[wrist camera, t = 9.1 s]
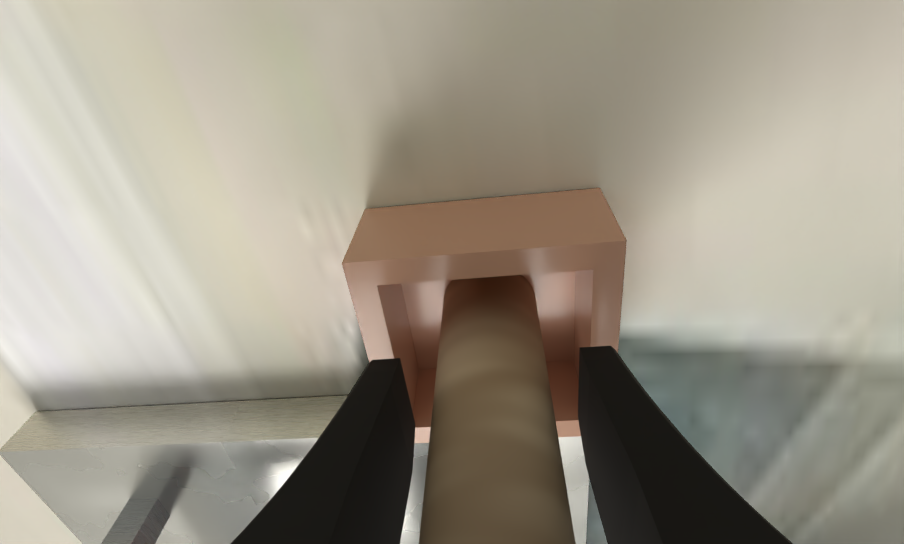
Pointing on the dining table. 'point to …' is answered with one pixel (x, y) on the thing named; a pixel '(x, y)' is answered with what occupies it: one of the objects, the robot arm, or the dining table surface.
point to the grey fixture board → (197, 468)
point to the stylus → (493, 424)
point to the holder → (489, 255)
